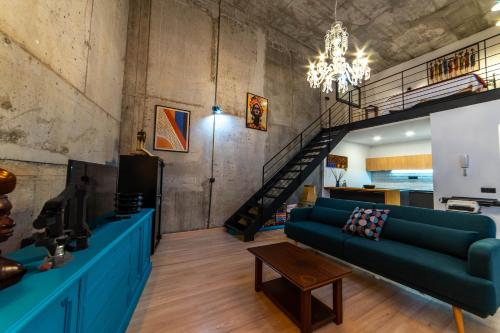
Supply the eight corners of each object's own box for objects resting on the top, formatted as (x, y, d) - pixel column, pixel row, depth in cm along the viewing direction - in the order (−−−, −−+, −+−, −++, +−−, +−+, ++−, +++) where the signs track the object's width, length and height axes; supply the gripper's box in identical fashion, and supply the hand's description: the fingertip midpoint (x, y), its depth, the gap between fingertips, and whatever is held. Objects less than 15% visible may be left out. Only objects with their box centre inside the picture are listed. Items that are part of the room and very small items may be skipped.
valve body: (56, 259, 109) (56, 251, 109) (77, 257, 111) (76, 248, 111) (33, 272, 95) (32, 262, 95) (57, 269, 97) (57, 259, 97)
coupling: (55, 254, 105) (54, 245, 105) (66, 253, 106) (66, 244, 106) (47, 258, 100) (46, 249, 100) (59, 257, 101) (58, 247, 101)
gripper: (52, 221, 111) (53, 249, 111) (19, 231, 93) (21, 264, 93) (74, 219, 113) (75, 246, 113) (47, 228, 95) (49, 261, 95)
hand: (56, 254), depth 103 cm, fingers closed on coupling, 5 cm apart
